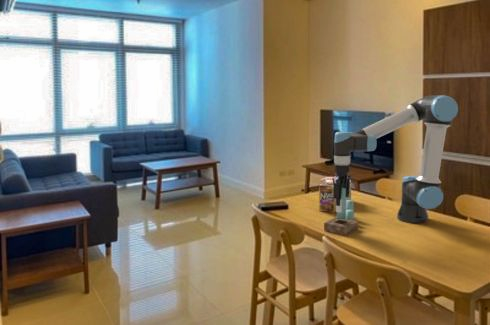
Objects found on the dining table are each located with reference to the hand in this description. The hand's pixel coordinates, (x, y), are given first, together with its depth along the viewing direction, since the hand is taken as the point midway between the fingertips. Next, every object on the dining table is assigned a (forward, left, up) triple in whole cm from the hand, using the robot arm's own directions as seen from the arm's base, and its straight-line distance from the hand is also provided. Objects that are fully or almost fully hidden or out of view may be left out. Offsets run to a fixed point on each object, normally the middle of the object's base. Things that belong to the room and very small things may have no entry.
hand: (341, 210), depth 204 cm
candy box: (+22, -24, -10) cm, 34 cm away
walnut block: (0, 0, -10) cm, 10 cm away
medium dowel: (+5, -18, -10) cm, 21 cm away
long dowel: (0, 0, -4) cm, 4 cm away
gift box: (+26, -41, -10) cm, 49 cm away
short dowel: (+1, -11, -10) cm, 15 cm away
